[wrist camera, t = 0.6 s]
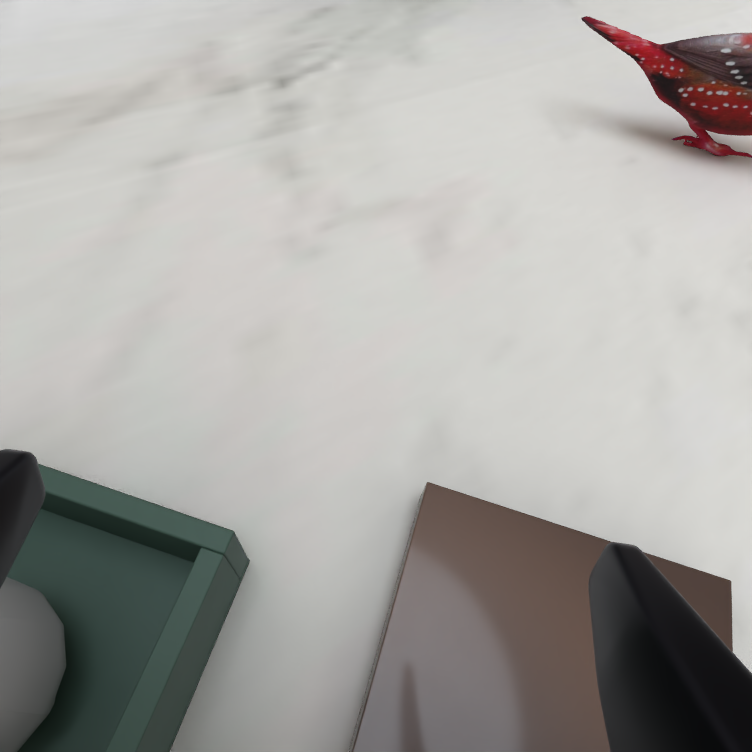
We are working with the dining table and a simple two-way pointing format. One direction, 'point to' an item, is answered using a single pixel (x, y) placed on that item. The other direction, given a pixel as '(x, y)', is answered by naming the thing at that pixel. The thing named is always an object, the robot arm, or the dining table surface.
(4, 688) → the salt shaker
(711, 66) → the decorative bird figurine
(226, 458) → the dining table surface
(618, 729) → the robot arm
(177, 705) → the green square tray
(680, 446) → the dining table surface
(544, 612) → the serving board
